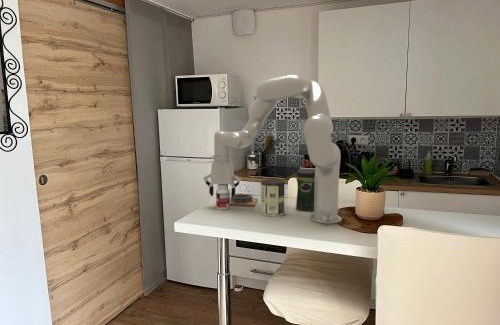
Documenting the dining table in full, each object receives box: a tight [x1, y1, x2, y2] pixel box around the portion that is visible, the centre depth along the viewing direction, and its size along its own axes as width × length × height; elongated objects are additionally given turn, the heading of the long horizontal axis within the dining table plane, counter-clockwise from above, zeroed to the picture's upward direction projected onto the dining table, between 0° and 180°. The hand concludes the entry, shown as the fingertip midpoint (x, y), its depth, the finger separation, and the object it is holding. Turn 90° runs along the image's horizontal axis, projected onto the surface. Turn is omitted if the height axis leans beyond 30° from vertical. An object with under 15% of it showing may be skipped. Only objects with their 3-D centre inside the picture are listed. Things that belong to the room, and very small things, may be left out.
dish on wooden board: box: [230, 193, 258, 208], centre depth 179 cm, size 14×14×4 cm
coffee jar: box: [295, 168, 315, 212], centre depth 166 cm, size 10×8×19 cm
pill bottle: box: [215, 184, 231, 211], centre depth 167 cm, size 6×6×11 cm
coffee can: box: [260, 179, 286, 217], centre depth 159 cm, size 10×10×14 cm
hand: (222, 195), depth 168 cm, fingers open, 9 cm apart
